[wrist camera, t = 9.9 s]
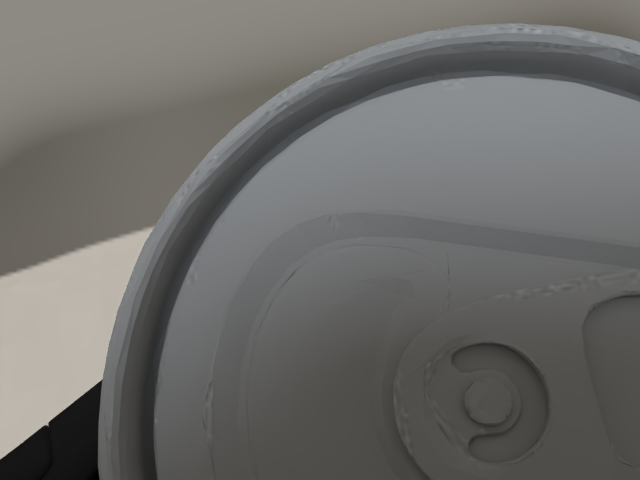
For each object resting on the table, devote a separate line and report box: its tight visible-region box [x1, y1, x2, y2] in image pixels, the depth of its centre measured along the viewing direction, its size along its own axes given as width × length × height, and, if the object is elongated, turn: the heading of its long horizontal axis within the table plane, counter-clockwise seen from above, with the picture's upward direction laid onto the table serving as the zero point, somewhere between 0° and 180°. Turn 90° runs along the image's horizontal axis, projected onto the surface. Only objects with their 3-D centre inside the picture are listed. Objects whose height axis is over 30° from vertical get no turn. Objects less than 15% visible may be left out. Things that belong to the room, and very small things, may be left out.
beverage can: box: [98, 23, 640, 480], centre depth 9 cm, size 7×7×12 cm
